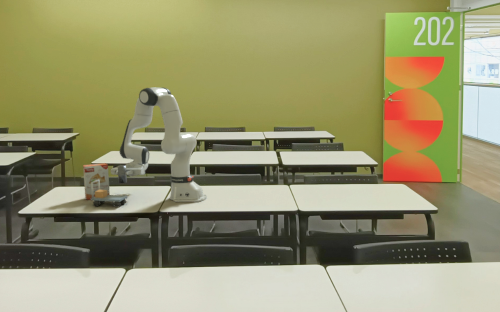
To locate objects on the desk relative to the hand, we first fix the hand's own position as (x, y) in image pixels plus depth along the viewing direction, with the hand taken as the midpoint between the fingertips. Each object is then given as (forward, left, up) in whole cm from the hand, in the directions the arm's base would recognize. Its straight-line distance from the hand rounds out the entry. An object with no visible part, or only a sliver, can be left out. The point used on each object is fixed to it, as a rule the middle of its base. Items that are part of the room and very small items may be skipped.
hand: (121, 173), depth 283 cm
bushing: (0, -1, -6) cm, 6 cm away
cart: (+3, +10, -17) cm, 20 cm away
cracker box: (+19, -4, -17) cm, 26 cm away
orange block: (+8, +10, -12) cm, 18 cm away
